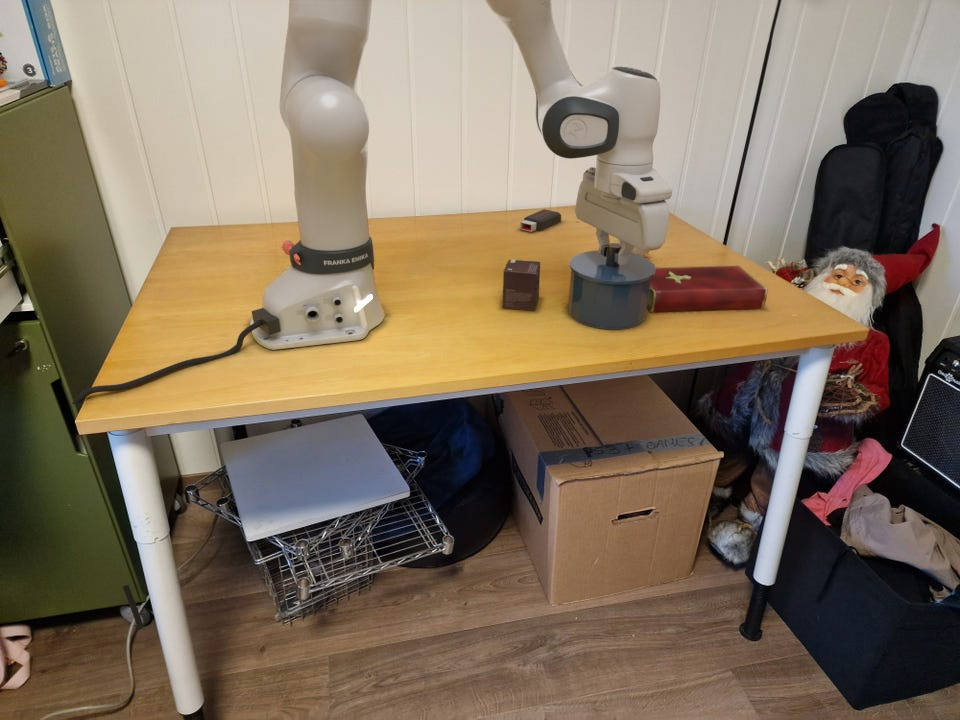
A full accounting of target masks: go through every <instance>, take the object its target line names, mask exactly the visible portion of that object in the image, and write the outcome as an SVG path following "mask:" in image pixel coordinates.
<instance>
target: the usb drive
mask: <svg viewBox="0 0 960 720" xmlns="http://www.w3.org/2000/svg"><path fill="white" fill-rule="evenodd" d="M561 222H562V214H561V212H558V211H554V210H549V209H541V210H539V211H536V212H534V213H532V214H529V215H527V216H525V217H524V218H523V220H522V221H520V223H519V229H520V231H521V230H522V231H527V232H529V233H530V232H531V233H532V232H540V231H544V230H546V229H549V228H550V227H552V226H554V225H557V224H559V223H561Z"/></svg>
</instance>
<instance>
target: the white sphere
mask: <svg viewBox="0 0 960 720" xmlns="http://www.w3.org/2000/svg"><path fill="white" fill-rule="evenodd" d="M616 243H617V244H620V239H618V238H617V242H616ZM649 252H650V251H642V250H640V249H638V248H636V247H634V248H633V250H632V251H631V254H635V255H638V256H641V257H644V256H646V255H648V254H649Z"/></svg>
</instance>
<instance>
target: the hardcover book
mask: <svg viewBox="0 0 960 720" xmlns="http://www.w3.org/2000/svg"><path fill="white" fill-rule="evenodd" d="M655 268H656V271H655V275H654V276H653V277H652V279H651V286H650V292H649V299H648V306H647V311H648V312H650V313H675V312H676V313H677V312H705V311H707V312H708V311H709V312H710V311H742V310H744V311H745V310H763V309H764V308H765V306H766V302H767V299H768V292H769V288H768V287H766V286H765V285H763V284H762V283H761V282H760V281H759V280H757V278H755V277H754V276H753V275H752V274H750V273H749V272H748V271H747V270H746V269H744V268H743V267H742V266H741V265H705V266H704V265H702V266H701V265H699V266H660V267H659V266H657V267H656V266H655Z"/></svg>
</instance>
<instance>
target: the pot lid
mask: <svg viewBox="0 0 960 720" xmlns="http://www.w3.org/2000/svg"><path fill="white" fill-rule="evenodd" d="M621 248H622V246H620V244H618V242H610V244H608V245H607V253H606V257H604V256H602V255H600V254H599V249H598V250H590V251H584V252H580V253H577V254H576V255H574V256H573V257H571V259H570V260H569V264H568V265H569V269H570V271H571V270H572V271H573V272H574V273H575V274H576V275H578V276H580V277H582V278H585V279H588V280H591V281H595V282H599V283H605V284H635V283H640V282H644V281H647V280H649V279H651V278H652V277H653V276H654V275H655V271H656V268H655V267H656V266H655V264H654V263H653V262H652V261H651V260H649V259H648V258H645V257H644V256H643V257H641V256H638V255H635V254H631V253H630V254H629V257H628V263H627V264H625V265H619V264H617V263H615V262H614V259H615V253H618V252H619V251H620V250H621Z"/></svg>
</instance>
